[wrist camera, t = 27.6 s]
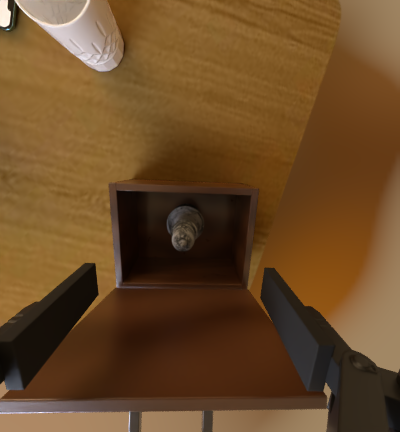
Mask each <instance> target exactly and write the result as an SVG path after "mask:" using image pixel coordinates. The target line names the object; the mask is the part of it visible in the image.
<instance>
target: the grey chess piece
mask: <svg viewBox="0 0 400 432" xmlns="http://www.w3.org/2000/svg"><path fill="white" fill-rule="evenodd" d="M167 229H168V231H169V233H170V235H171V236H172V244H173V246H174V247H175V248H176V249H177V250H179V251H187V250H189V249H191V248H192V246H193V245H194V242H195V239H197V238H198V237H199V236H200V235H201V233H202V232H203V229H204V219H203V217H202V215H201V213H200V211H199V210H198V209H197V208H196V207H195V206H194V205H191V204H181V205H179V206H177V207H176V208H175V209H174V210H173V211H172V212H171V213H170V214H169V216H168V219H167Z"/></svg>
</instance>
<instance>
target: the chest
mask: <svg viewBox="0 0 400 432" xmlns="http://www.w3.org/2000/svg"><path fill="white" fill-rule="evenodd" d="M258 193H259V189H258V188H255V187H252V186H248V185H245V184H242V183H218V182H193V181H167V180H142V179H130V180H124V181H117V182H111V183H109V194H110V207H111V220H112V233H113V246H114V258H115V271H116V284H117V288H167V289H236V290H247V286H248V278H249V269H250V261H251V253H252V244H253V236H254V227H255V219H256V210H257V202H258ZM181 204H191V205H194V206H195V207H196V208H197V209H198V210H199V211H200V213H201V215H202V217H203V219H204V229H203V232H202V233H201V235H200V236H199V237H198V238H197V239H195V242H194V245H193V246H192V248H191V249H189V250H187V251H179V250H177V249H176V248H175V247H174V246H173V244H172V236H171V235H170V233H169V231H168V229H167V219H168V216H169V214H170V213H171V212H172V211H173V210H174V209H175V208H176V207H177V206H179V205H181Z"/></svg>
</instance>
